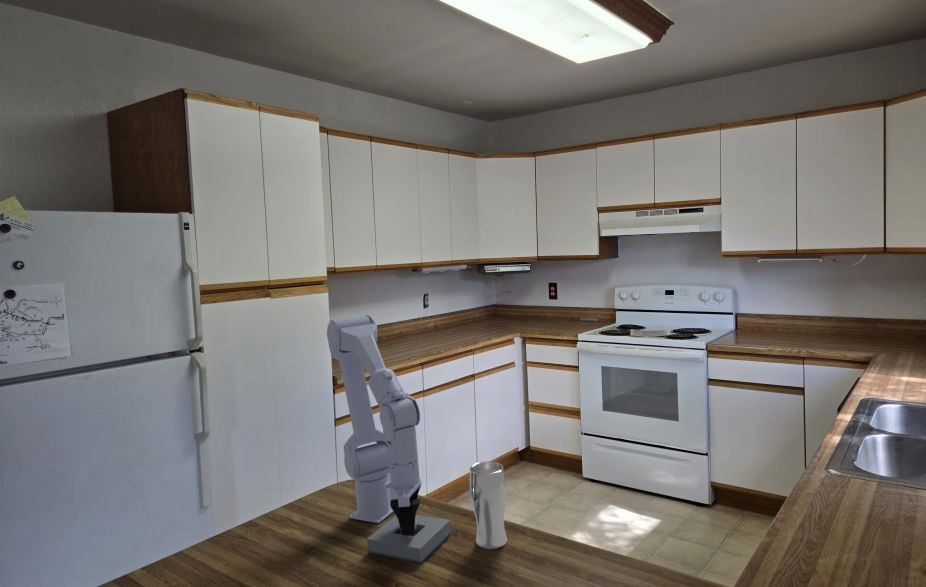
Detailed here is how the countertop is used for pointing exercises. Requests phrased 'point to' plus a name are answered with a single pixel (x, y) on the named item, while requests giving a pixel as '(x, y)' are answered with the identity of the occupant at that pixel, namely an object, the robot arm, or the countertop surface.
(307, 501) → the countertop surface
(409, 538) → the hole block
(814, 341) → the countertop surface
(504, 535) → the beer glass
